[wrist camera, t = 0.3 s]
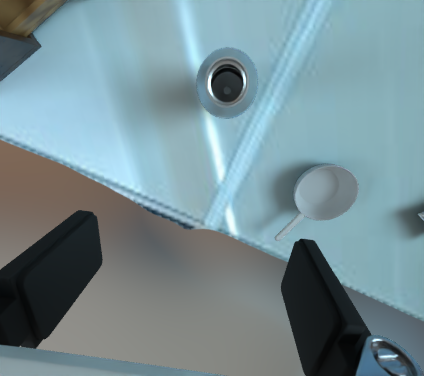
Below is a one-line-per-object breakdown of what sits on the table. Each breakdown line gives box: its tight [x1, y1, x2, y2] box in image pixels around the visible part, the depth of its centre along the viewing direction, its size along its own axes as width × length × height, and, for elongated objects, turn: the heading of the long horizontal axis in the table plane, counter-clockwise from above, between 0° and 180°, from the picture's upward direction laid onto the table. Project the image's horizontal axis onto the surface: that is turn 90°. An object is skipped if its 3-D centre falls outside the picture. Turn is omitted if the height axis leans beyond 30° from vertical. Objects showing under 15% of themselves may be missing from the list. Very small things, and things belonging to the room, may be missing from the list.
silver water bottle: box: [196, 47, 258, 119], centre depth 26 cm, size 6×7×20 cm
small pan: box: [275, 164, 359, 241], centre depth 40 cm, size 11×18×4 cm, turn 143°
